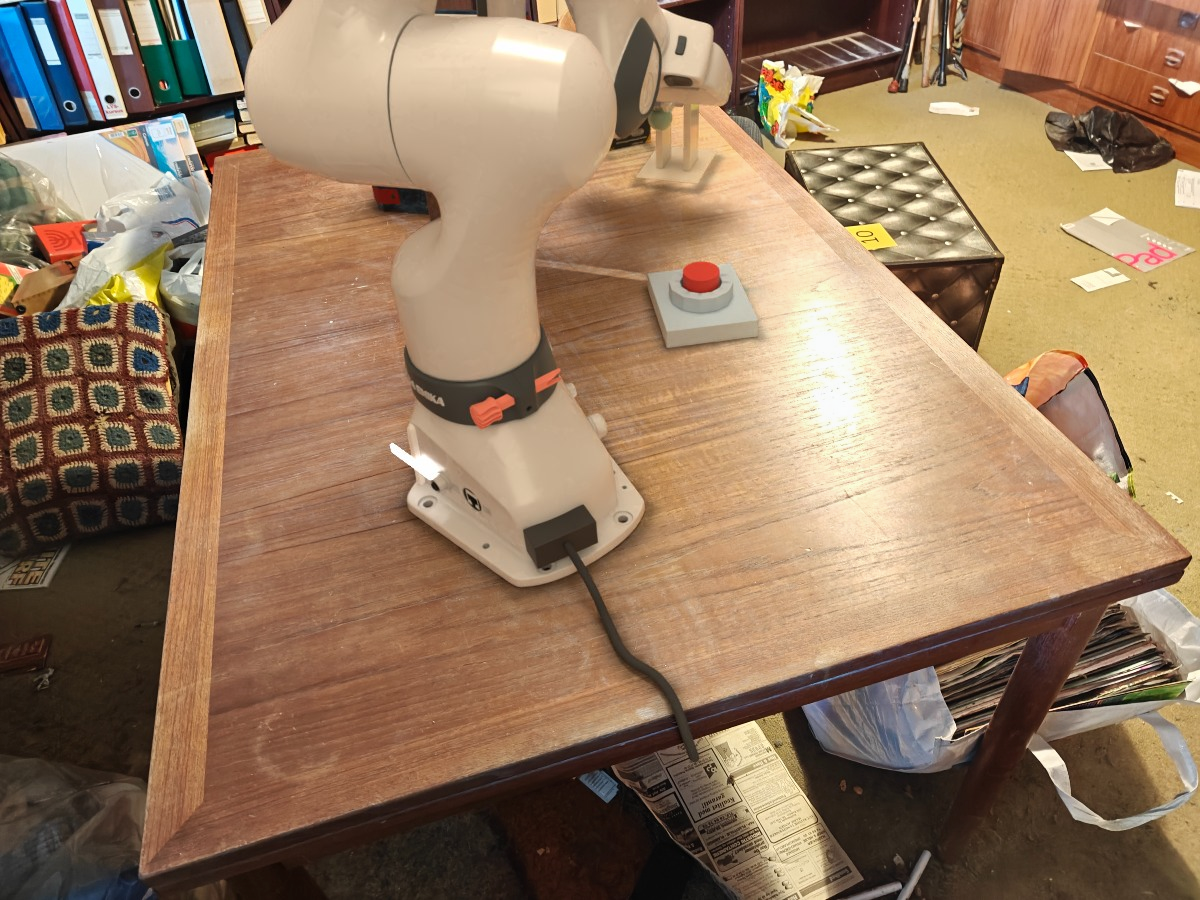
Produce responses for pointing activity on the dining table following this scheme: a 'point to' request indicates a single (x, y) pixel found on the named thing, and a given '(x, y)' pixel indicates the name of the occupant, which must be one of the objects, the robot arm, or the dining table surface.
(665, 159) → the ball knob lever stand
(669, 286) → the control block
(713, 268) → the button
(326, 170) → the robot arm
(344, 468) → the dining table surface
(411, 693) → the dining table surface
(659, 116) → the green knob lever
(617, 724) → the dining table surface
